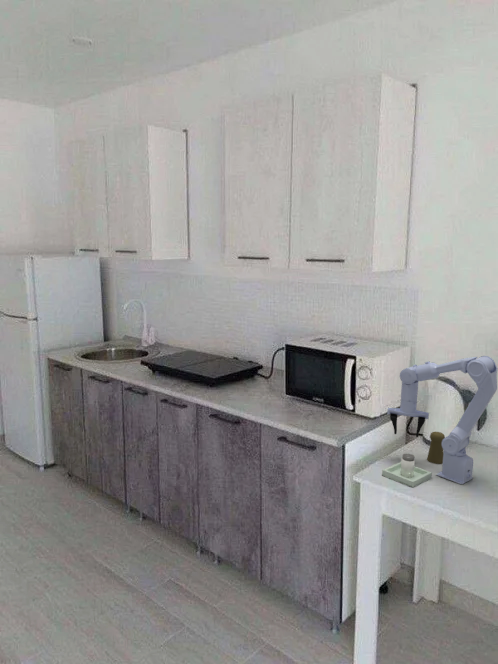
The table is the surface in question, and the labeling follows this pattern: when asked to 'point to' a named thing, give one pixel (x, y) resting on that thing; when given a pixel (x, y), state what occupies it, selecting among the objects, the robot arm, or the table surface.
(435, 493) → the table surface
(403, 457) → the salt shaker
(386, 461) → the table surface
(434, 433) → the cork
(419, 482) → the tray
